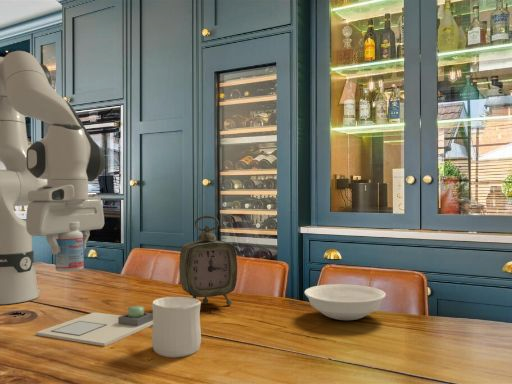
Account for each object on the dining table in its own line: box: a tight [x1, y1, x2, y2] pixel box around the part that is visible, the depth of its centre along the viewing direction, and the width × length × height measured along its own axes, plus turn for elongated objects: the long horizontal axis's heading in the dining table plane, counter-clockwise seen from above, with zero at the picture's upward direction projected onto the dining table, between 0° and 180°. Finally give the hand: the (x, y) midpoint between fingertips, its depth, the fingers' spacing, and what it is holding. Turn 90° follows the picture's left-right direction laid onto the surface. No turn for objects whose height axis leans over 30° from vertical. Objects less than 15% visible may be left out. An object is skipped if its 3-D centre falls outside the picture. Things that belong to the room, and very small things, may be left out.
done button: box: [127, 305, 145, 318], centre depth 110 cm, size 4×4×2 cm
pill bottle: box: [54, 222, 85, 273], centre depth 107 cm, size 6×6×11 cm
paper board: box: [35, 311, 153, 347], centre depth 107 cm, size 20×18×1 cm
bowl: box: [304, 283, 387, 321], centre depth 113 cm, size 20×20×6 cm
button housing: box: [118, 311, 153, 326], centre depth 110 cm, size 6×6×2 cm
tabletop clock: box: [178, 215, 238, 306], centre depth 127 cm, size 14×9×25 cm, turn 114°
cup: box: [151, 296, 202, 358], centre depth 92 cm, size 10×10×10 cm
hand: (69, 251), depth 107 cm, fingers closed on pill bottle, 6 cm apart
